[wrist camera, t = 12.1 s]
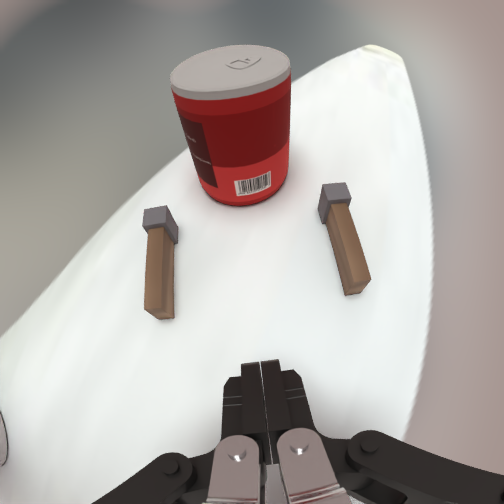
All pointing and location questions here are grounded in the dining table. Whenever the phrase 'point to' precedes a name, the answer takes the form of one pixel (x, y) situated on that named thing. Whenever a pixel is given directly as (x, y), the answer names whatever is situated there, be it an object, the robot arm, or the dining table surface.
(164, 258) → the channel walls
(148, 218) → the posts
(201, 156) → the canned food
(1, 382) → the dining table surface
